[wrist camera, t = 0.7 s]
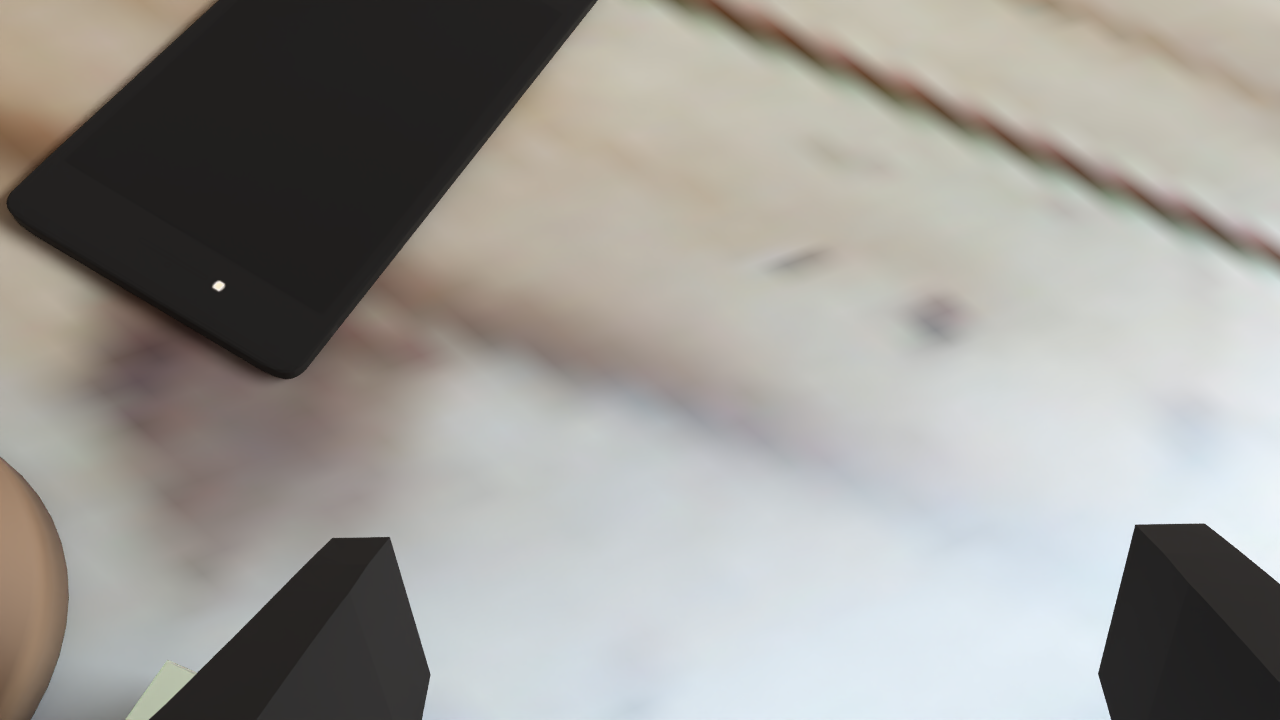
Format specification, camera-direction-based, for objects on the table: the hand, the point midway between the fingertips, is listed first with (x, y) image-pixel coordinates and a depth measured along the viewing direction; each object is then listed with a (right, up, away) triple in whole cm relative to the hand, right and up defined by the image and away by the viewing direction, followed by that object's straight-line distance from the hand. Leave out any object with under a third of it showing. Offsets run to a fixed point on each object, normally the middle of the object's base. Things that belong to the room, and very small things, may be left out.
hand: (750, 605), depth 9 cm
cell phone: (-10, +11, +20) cm, 25 cm away
